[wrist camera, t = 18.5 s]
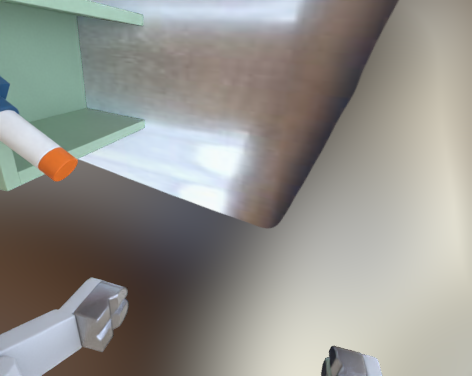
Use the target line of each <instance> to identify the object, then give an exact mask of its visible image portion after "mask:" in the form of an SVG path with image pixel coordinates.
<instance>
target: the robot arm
mask: <svg viewBox="0 0 472 376" xmlns="http://www.w3.org/2000/svg"><path fill="white" fill-rule="evenodd" d="M127 294H128V292H127V288H125V287H122V286H119V285H115V284H112V283H108V282H105V281H102V280H99V279H95V278H92V277H91V278H90V279H88V280H87V281H86V282H85V283H84V284H83V285H82V286H81V287H80V288H79V289H78V290H77V291H76V292H75V293H74V294H73V295H72V297H70V299H69V300H68V301H67V302H66V303H65V304H64V305H63V306H62V307H61V308H60V309H59V310H56V309H55V310H52V311H50V312H48V313H46V314H44V315H42V316H39V317H37V318H35V319H33V320H31V321H29V322H27V323H25V324H22V325H20V326H18V327H16V328H14V329H12V330H9V331H7V332H5V333H3V334H1V335H0V376H41V375H43V374H44V373H46V372H47V371H48V370H50V369H51V368H53V367H54V366H56V365H57V364H59V363H60V362H62V361H63V360H65V359H66V358H67V357H69V356H70V355H72V354H73V353H75V352H76V351H78V350H79V349H81V348H82V346H83V347H86V348H90V349H94V350H97V351H101V352H103V351H104V349H105V347H106V346H107V345H108V343H109V342H110V340H111V338H112V337H113V329H115V328H116V327H118V326H120V325H121V323H122V322H123V320H124V319H125V316H126V314H127V311H128V306H129V305H128V300H127V299H126V298H125V297H126V295H127ZM321 376H382V373H381V369H380V365H379V362H378V360H377V358H375V357H372V356H368V355H365V354H361V353H359V352H355V351H352V350H348V349H344V348H340V347H336V346H332V347H331V348H330V350H329V357H327V358H325V361H324V363H323V366H322V372H321Z"/></svg>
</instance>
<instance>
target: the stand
mask: <svg viewBox="0 0 472 376" xmlns="http://www.w3.org/2000/svg"><path fill="white" fill-rule="evenodd" d="M76 15H77V16H84V17H90V18H96V19H103V20H109V21H115V22H121V23H128V24H134V25H140V26H143V15H141V14H138V13H134V12H130V11H126V10H122V9H119V8H115V7H111V6H107V5H103V4H99V3H96V2H92V1H88V0H0V76H1V77H2V78H3V79H5V80H6V81H7V82H9V83H10V87H9V90H8V94H7V98H6V100H7V101H8V102H9V103H11V104H12V105H13V106H14V107H16V108H17V109H18V111H19V115H20V116H21V117H22V118H24V119H25V120H26V121H28V122H29V123H30V124H32V125H33V126H34V127H36V128H37V129H38V130H40V131H41V132H42V133H43V134H45V135H46V136H47V137H49V138H50V139H51V140H53V141H54V142H55V143H57V144H58V145H59V146H60V147H62V148H63V149H64V150H66V151H67V152H68V153H70V154H71V155H72V156H74V157H75V158H76V159H78V158H81V157H83V156H85V155H87V154H89V153H91V152H94V151H96V150H98V149H100V148H102V147H104V146H106V145H109V144H111V143H113V142H115V141H117V140H119V139H122V138H124V137H126V136H128V135H130V134H132V133H135V132H137V131H139V130H141V129H143V128H145V120H142V119H137V118H132V117H127V116H122V115H118V114H113V113H108V112H103V111H98V110H93V109H88V108H87V106H86V97H85V88H84V79H83V70H82V61H81V51H80V42H79V33H78V24H77V16H76ZM42 175H44V173H43V172H42V171H40V170H39V169H38V168H36V167H35V166H34V165H32V164H31V163H30V162H28V161H27V160H26V159H24V158H23V157H21V156H20V155H19V154H17V153H16V152H15V151H13V150H12V149H11V148H9V147H8V146H7V145H5V144H4V143H3V142H1V141H0V189H1V190H5V191H9V190H11V189H14V188H16V187H18V186H20V185H22V184H24V183H27V182H28V181H31V180H33V179H35V178H37V177H40V176H42Z"/></svg>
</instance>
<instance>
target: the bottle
mask: <svg viewBox="0 0 472 376" xmlns="http://www.w3.org/2000/svg"><path fill="white" fill-rule="evenodd" d="M9 87H10V83H9V82H7V81H6V80H5V79H3V78H2V77H1V76H0V141H1V142H3V143H4V144H5V145H7V146H8V147H9V148H11V149H12V150H13V151H15V152H16V153H17V154H19V155H20V156H21V157H23V158H24V159H26V160H27V161H28V162H30V163H31V164H32V165H34V166H35V167H36V168H38V169H39V170H40V171H42V172H43V173H44V174H46V175H47V176H48V177H50V178H51V179H52V180H54V181H60V180H62V179H64V178H65V177H67V176H68V175H69V174H70V173H71V172H72V171H73V170H74V169H75V167H76V166H77V163H78V160H77V159H76V158H75V157H74V156H72V155H71V154H70V153H68V152H67V151H66V150H64V149H63V148H62V147H60V146H59V145H58V144H57V143H55V142H54V141H53V140H51V139H50V138H49V137H47V136H46V135H45V134H43V133H42V132H41V131H40V130H38V129H37V128H36V127H34V126H33V125H32V124H30V123H29V122H28V121H26V120H25V119H24V118H22V117H21V116H20V115H19V111H18V109H17V108H16V107H14V106H13V105H12V104H11V103H9V102H8V101H7V100H6V98H7V94H8V90H9Z"/></svg>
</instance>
